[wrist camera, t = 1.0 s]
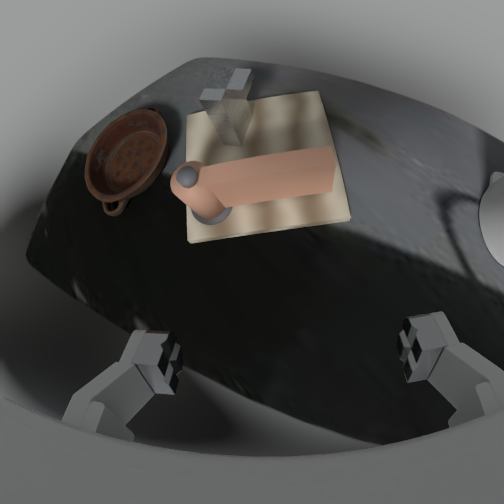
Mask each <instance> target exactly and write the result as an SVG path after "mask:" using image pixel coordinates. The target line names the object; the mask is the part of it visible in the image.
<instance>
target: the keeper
mask: <svg viewBox="0 0 504 504" xmlns="http://www.w3.org/2000/svg"><path fill="white" fill-rule="evenodd" d="M253 81H254V76H253V72H252V69H238V68H215V70H214V71H213V73H212V75H211V77H210V79H209V81H208V83H207V85H206V87H205V89H204V91H203V93H202V95H201V97H200V99H199V100H200V102H201V104H202V106H203V108H204V109H205V111H206V113H207V115H208V117H209V118H210V120H211V122H212V124H213V126H214V127H215V129H216V131H217V133H218V135H219V137H220V138H221V140H222V142H223V144H224V145H232V146H239V147H242V144H243V142H244V139H245V136H246V133H247V130H248V128H249V125H250V122H251V120H252V114H251V111H250V108H249V105H248V102H247V99H246V98H247V96H248V93H249V91H250V88H251V86H252V84H253Z"/></svg>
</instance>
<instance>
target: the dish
mask: <svg viewBox="0 0 504 504" xmlns="http://www.w3.org/2000/svg"><path fill="white" fill-rule="evenodd" d="M167 156H168V139H167V128H166V124H165V122H164V120H163V118H162V117H161V116H160V111H159V110H158V109H157V108H156V107H149V108H147V109H137V110H134V111H130V112H128V113H126V114H124V115H122V116H120V117H119V118H117V119H116V120H114V121H113V122H111V123H110V124H109V125H108V126H107V127H106V128H105V129H104V130H103V131H102V132H101V134H100V135H99V136H98V137H97V139H96V140H95V142H94V144H93V145H92V147H91V149H90V151H89V153H88V156H87V160H86V165H85V180H86V185H87V187H88V189H89V191H90V192H91V194H92V195H93V196H94V197H95V198H97V199H99V200H101V201H102V203H103V208H104V211H105V212H106V214H107V215H109V216H117V215H119V214H121V213H122V212H123V210H124V209H125V207H126V205H127V203H128V201H129V200H130V199H131V198H132V197H134V196H136V195H138V194H140V193H142V192H143V191H145V190H146V189H147V188H148V187H149V186H150V185H151V184H152V183H153V182H154V181H155V180H156V178H157V177H158V176H159V174H160V173H161V171H162V169H163V167H164V165H165V162H166V159H167ZM115 201H118V207H117V208H116V209H115V210H111V208H110V204H111V203H112V202H115Z"/></svg>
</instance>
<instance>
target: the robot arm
mask: <svg viewBox="0 0 504 504" xmlns="http://www.w3.org/2000/svg"><path fill="white" fill-rule="evenodd" d="M479 220H480V227H481V232H482V235H483V238H484V241H485V243H486V245H487V247H488V249H489V251H490V253H491V254H492V255H493V257H494V258H495V259H496V260H497V261H498V262H499V263H500V264H501V265H503V266H504V173H501V172H494V173H492V174H491V176H490V182H489V187H488V189H487V190H486V192H485V193H484V195H483V197H482V199H481V203H480V209H479ZM402 327H403V329H404V330H403V331H402V332H401V333H400V334H399V337H398V340H397V349H398V354H399V357H400V359H401V360H403V361H404V362H405V364H404V367H403V370H404V373H405V376H406V379H407V383H408V382H414V381H419V380H424V379H428V381H429V382H430V383H431V384H432V385H433V386H434V387H435V388H436V389H437V390H438V391H439V392H440V393H441V394H442V395H443V396H444V397H445V398H446V399H447V400H448V401H449V402H450V403H451V404H452V405H453V406H454V407H455V408H456V409H457V411H456V412H455V413H454V414H453V416H452V417H451V418H450V419H449V421H448V423H449V427H450V428H448V429H445V430H442V431H439V432H435V433H432V434H428V435H425V436H421V437H417V438H414V439H410V440H405V441H401V442H397V443H392V444H387V445H382V446H377V447H372V448H366V449H360V450H353V451H346V452H337V453H328V454H318V455H303V456H278V457H252V456H227V455H214V454H204V453H194V452H187V451H179V450H172V449H166V448H160V447H154V446H149V445H144V444H139V443H135V442H133V439H134V435H133V433H132V432H131V431H130V430H129V429H128V428H127V427H126V426H125V425H126V423H128V422H129V421H130V419H131V418H132V417H133V416H134V415H135V414H136V413H137V412H138V411H139V410H140V409H141V408H142V407H143V406H144V405H145V404H146V403H147V401H148V400H149V399H150V398H151V397H152V396H153V395H154V393H160V394H173V395H174V394H175V392H176V388H177V385H178V381H179V380H178V378H177V376H176V375H177V374H178V373H179V372H180V371H181V370H182V366H183V352H182V349H181V347H180V346H179V345H177V344H176V343H175V342H176V339H177V338H176V336H175V334H174V332H167V331H150V330H135V331H134V332H133V333H132V335H131V337H130V339H129V341H128V344H127V346H126V348H125V350H124V352H123V354H122V357H121V359H120V361H119V362H115V363H114V364H113V365H111V366H110V367H109V368H107V369H106V370H105V371H104V372H103V373H101V374H100V375H98V376H97V377H96V378H94V379H93V380H92V381H90V382H89V383H88V384H87V385H85V386H84V387H83V388H81V389H80V390H79V391H77V392H76V393H75V394H73V396H72V398H71V401H70V403H69V405H68V407H67V409H66V412H65V414H64V416H63V418H62V421H59V420H56V419H54V418H51V417H49V416H46V415H44V414H41V413H39V412H36V411H34V410H32V409H29V408H27V407H25V406H22V405H20V404H18V403H16V402H14V401H12V400H10V399H8V398H5V397H0V504H504V371H503V370H501V369H500V368H499V367H497V366H496V365H494V364H493V363H492V362H490V361H489V360H487V359H486V358H484V357H483V356H482V355H480V354H479V353H477V352H476V351H474V350H473V349H471V348H470V347H468V346H467V345H466V344H464V343H459V341H458V339H457V337H456V335H455V333H454V331H453V329H452V327H451V325H450V323H449V321H448V320H447V318H446V316H445V314H444V313H443V312H442V311H441V312H436V313H430V314H423V315H417V316H411V317H406V318H405V319H404V320H403V323H402Z"/></svg>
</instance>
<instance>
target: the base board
mask: <svg viewBox="0 0 504 504" xmlns="http://www.w3.org/2000/svg"><path fill="white" fill-rule="evenodd" d="M247 102H248V105H249V108H250V111H251V114H252V120H251V122H250V125H249V128H248V130H247V133H246V136H245V139H244V142H243V144H242V147H239V146H232V145H224V144H223V142H222V140H221V138H220V137H219V135H218V133H217V131H216V129H215V127H214V126H213V124H212V122H211V120H210V118H209V117H208V115H207V113H206V111H202V112H198V113H194V114H191V115H187V136H186V162H189V161H199V162H201V163H203V164H204V165H205V166H210V165H215V164H220V163H225V162H230V161H235V160H240V159H245V158H251V157H257V156H262V155H268V154H274V153H281V152H287V151H294V150H301V149H309V148H317V147H325V146H331V147H332V151H333V155H334V159H335V163H336V167H335V174H334V181H333V188H332V192H327V193H320V194H312V195H305V196H298V197H291V198H284V199H277V200H270V201H264V202H258V203H251V204H245V205H239V206H233V207H227V208H225V210H224V211H223V212H222V213H221V214H220V215H219V216H217V217H215V218H212V219H205V218H202V217H200V216H199V215H198V214H197V213H196V212H194V211H193V210H192V209H191V208H190V207H189V206H188V205H187V234H188V241H189V242H190V243H197V242H204V241H210V240H217V239H224V238H230V237H237V236H244V235H251V234H258V233H265V232H272V231H279V230H286V229H293V228H300V227H307V226H315V225H322V224H330V223H337V222H345V221H350V218H351V217H350V212H349V207H348V202H347V197H346V192H345V188H344V183H343V179H342V175H341V170H340V166H339V162H338V158H337V154H336V150H335V147H334V143H333V139H332V135H331V132H330V128H329V125H328V121H327V118H326V114H325V111H324V108H323V104H322V101H321V98H320V95H319V91H311V92H302V93H295V94H287V95H281V96H274V97H268V98H262V99H257V100H251V101H247Z"/></svg>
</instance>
